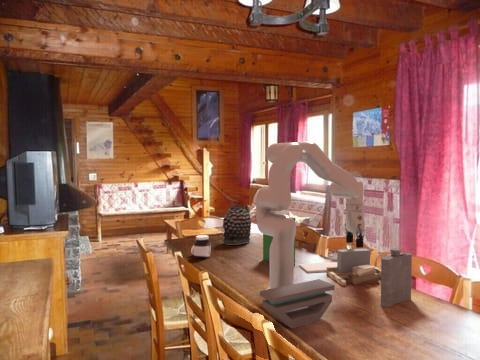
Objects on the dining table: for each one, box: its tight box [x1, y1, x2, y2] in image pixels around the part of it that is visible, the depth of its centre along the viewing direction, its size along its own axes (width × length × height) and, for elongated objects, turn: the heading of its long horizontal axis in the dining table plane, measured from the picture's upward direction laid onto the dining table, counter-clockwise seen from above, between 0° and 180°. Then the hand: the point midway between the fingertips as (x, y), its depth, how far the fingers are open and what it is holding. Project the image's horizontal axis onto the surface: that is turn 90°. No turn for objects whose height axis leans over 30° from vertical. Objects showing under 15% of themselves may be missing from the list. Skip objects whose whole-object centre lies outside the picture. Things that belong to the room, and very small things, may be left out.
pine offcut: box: [353, 264, 376, 277], centre depth 171 cm, size 4×9×3 cm, turn 118°
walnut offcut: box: [347, 273, 380, 286], centre depth 171 cm, size 5×12×4 cm, turn 107°
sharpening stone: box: [259, 278, 336, 329], centre depth 131 cm, size 25×8×11 cm, turn 120°
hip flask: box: [380, 247, 413, 308], centre depth 147 cm, size 16×4×20 cm, turn 123°
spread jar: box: [190, 234, 212, 260], centre depth 216 cm, size 12×11×12 cm
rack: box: [326, 264, 381, 287], centre depth 176 cm, size 17×22×4 cm
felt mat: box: [298, 261, 337, 274], centre depth 193 cm, size 12×22×1 cm, turn 100°
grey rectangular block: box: [336, 248, 371, 273], centre depth 180 cm, size 4×14×12 cm, turn 100°
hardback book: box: [262, 216, 296, 266], centre depth 203 cm, size 18×7×24 cm, turn 31°
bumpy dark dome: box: [222, 204, 252, 246], centre depth 250 cm, size 21×15×25 cm
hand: (354, 244), depth 180 cm, fingers open, 9 cm apart
